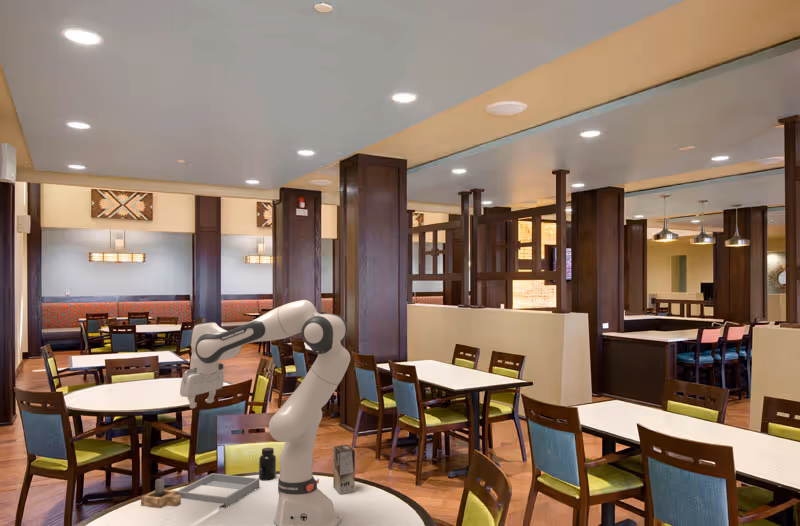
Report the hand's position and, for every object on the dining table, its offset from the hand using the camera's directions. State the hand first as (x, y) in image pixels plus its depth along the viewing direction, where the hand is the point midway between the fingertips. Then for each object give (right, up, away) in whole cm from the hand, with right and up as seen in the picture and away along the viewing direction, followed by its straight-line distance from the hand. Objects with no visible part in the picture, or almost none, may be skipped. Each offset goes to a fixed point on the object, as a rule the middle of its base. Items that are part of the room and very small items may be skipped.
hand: (201, 405), depth 199 cm
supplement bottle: (+16, -39, +31) cm, 52 cm away
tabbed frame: (-14, -35, 0) cm, 38 cm away
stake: (-15, -37, 0) cm, 40 cm away
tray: (+2, -38, +13) cm, 40 cm away
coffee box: (+50, -38, +18) cm, 65 cm away
